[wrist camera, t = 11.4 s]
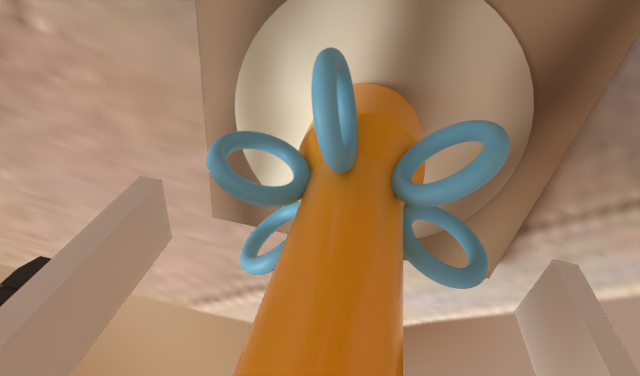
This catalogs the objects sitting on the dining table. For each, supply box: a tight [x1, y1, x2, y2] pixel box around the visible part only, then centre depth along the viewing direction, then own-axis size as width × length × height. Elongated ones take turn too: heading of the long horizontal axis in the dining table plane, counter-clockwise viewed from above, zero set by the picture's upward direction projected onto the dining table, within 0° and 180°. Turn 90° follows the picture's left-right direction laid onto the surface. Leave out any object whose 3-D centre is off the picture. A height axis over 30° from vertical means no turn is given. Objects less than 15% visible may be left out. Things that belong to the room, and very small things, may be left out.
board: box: [195, 0, 640, 279], centre depth 15 cm, size 20×29×8 cm
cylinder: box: [207, 47, 510, 376], centre depth 14 cm, size 12×10×15 cm
